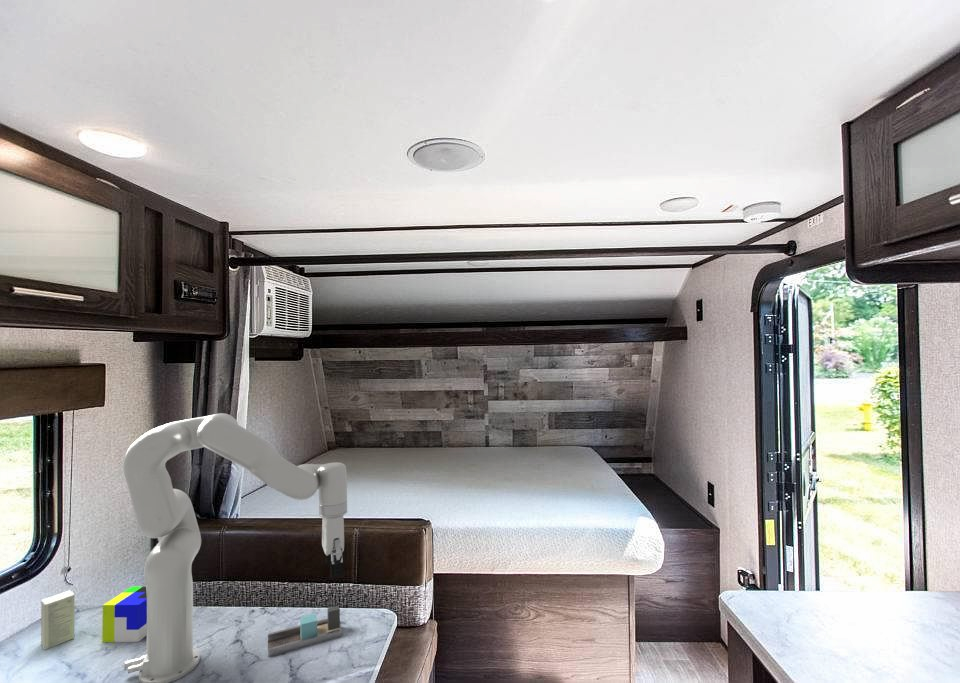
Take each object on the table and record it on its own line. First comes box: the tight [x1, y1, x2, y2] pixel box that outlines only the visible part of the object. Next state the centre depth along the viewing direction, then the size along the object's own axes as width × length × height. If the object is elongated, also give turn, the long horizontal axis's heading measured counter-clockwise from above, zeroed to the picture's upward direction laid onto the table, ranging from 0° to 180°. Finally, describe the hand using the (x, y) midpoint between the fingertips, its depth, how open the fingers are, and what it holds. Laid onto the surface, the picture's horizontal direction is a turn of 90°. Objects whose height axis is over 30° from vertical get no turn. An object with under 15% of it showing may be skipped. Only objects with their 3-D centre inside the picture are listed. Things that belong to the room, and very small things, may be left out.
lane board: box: [267, 617, 343, 658], centre depth 122 cm, size 18×8×2 cm, turn 116°
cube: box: [299, 612, 318, 639], centre depth 122 cm, size 4×4×4 cm
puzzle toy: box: [101, 586, 147, 643], centre depth 128 cm, size 10×10×10 cm
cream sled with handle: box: [299, 605, 341, 637], centre depth 124 cm, size 10×6×6 cm, turn 116°
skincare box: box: [40, 589, 75, 650], centre depth 124 cm, size 6×4×12 cm
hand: (334, 570), depth 126 cm, fingers open, 9 cm apart
